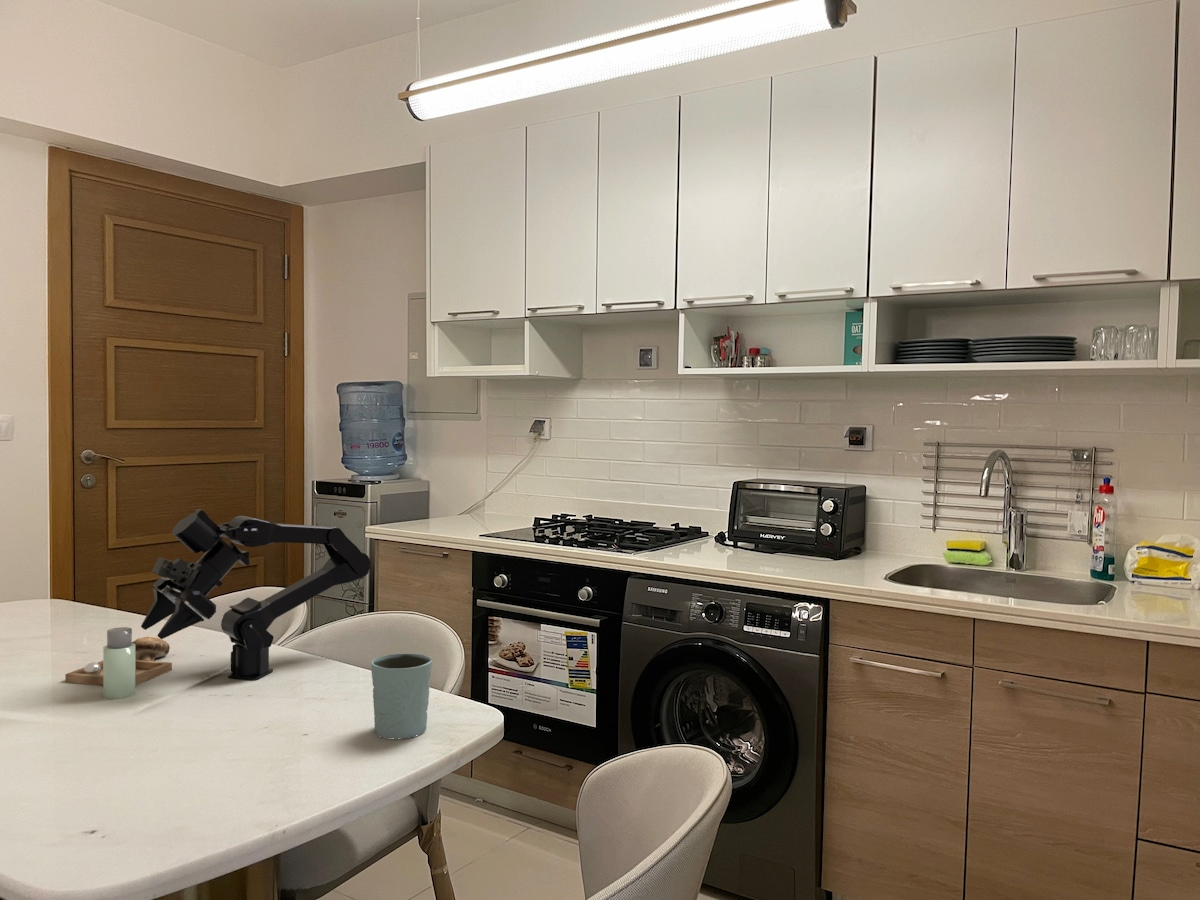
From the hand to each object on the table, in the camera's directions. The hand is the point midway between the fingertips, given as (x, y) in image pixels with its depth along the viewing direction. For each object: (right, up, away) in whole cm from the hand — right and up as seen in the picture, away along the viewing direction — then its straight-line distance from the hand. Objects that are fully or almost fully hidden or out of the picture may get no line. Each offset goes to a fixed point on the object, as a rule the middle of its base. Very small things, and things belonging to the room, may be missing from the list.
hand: (150, 632), depth 168 cm
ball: (-14, -10, +6) cm, 19 cm away
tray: (-10, -11, +8) cm, 17 cm away
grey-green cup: (+50, -13, -16) cm, 55 cm away
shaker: (-4, -12, -3) cm, 13 cm away
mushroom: (-11, -11, +20) cm, 25 cm away
